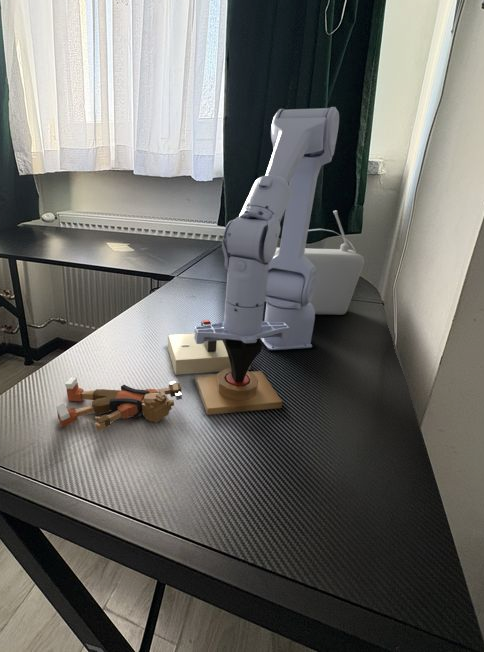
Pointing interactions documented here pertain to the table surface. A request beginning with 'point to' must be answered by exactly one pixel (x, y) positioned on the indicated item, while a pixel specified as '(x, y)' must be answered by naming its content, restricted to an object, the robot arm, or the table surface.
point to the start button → (231, 381)
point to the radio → (334, 275)
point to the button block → (236, 393)
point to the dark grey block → (209, 344)
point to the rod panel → (196, 355)
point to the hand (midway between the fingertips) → (237, 378)
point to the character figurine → (118, 403)
